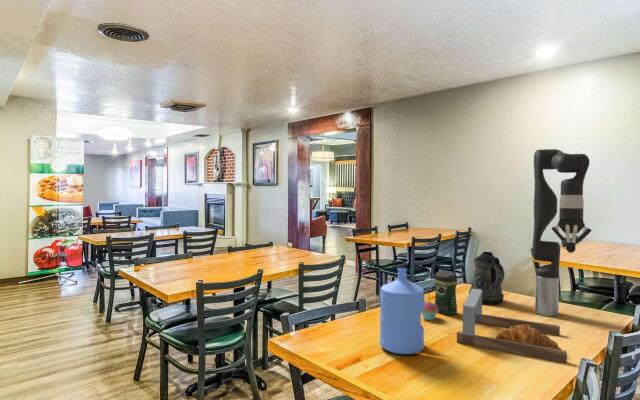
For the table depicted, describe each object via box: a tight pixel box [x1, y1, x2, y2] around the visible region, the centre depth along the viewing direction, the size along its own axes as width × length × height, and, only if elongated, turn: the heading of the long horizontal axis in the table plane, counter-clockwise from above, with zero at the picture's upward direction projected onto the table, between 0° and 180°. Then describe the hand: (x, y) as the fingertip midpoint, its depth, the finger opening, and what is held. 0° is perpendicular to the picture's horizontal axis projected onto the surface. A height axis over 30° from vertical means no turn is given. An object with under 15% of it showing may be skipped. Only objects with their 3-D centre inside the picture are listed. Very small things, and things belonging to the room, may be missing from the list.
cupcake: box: [421, 293, 439, 321], centre depth 164 cm, size 9×8×12 cm
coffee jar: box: [434, 271, 458, 316], centre depth 172 cm, size 10×8×19 cm
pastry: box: [495, 324, 562, 350], centre depth 133 cm, size 21×13×8 cm, turn 66°
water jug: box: [379, 267, 426, 355], centre depth 134 cm, size 16×16×28 cm
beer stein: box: [468, 251, 505, 306], centre depth 190 cm, size 16×19×25 cm
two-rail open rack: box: [456, 289, 568, 364], centre depth 141 cm, size 28×34×14 cm
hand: (570, 252), depth 141 cm, fingers closed
